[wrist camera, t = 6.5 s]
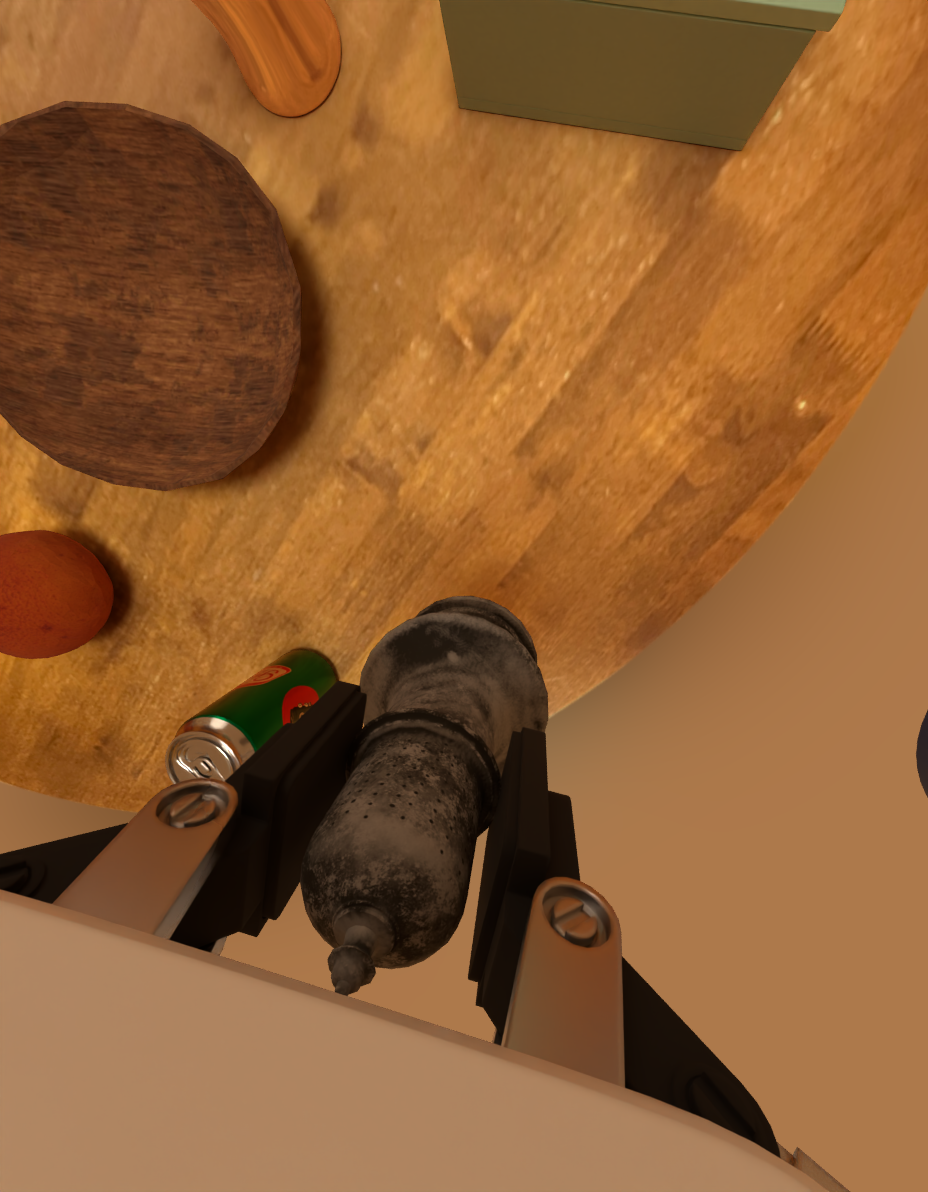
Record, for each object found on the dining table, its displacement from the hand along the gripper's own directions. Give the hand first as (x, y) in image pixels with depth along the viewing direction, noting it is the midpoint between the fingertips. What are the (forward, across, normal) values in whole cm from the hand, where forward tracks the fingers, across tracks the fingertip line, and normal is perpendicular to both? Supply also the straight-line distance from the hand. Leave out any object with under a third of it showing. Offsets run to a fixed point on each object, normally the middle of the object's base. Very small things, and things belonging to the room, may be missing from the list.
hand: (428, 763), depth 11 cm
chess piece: (+7, 0, 0) cm, 7 cm away
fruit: (+22, +32, +7) cm, 39 cm away
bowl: (+22, +24, -12) cm, 35 cm away
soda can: (+22, +13, +10) cm, 27 cm away
